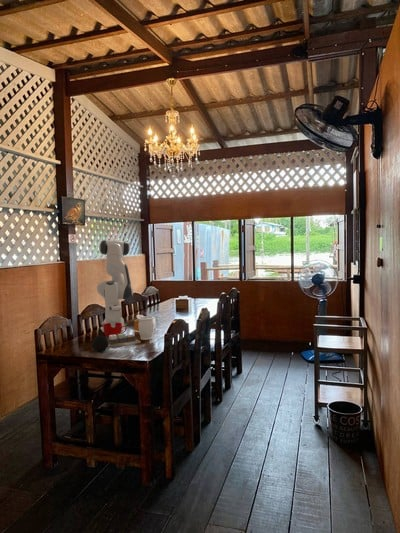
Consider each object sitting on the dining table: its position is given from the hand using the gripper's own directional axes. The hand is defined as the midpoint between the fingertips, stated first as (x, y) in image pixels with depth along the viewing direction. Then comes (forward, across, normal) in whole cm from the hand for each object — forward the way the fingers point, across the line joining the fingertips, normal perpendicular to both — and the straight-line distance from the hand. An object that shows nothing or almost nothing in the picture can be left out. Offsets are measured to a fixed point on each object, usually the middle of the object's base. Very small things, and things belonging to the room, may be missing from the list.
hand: (113, 327), depth 257 cm
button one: (+9, -1, 0) cm, 9 cm away
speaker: (+12, +9, -12) cm, 20 cm away
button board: (+12, -1, +6) cm, 13 cm away
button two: (+9, -1, +6) cm, 10 cm away
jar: (+12, -4, +25) cm, 28 cm away
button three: (+10, -1, +12) cm, 16 cm away
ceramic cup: (+12, -19, +8) cm, 24 cm away
